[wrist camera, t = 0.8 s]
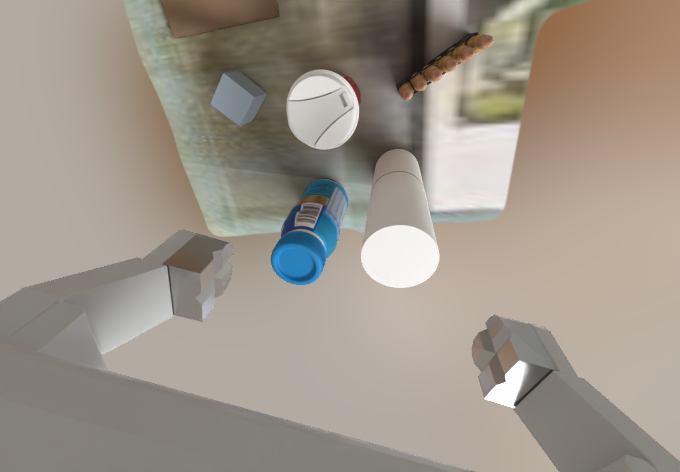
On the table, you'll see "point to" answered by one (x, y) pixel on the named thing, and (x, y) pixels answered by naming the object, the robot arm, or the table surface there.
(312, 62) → the table surface
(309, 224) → the beverage bottle
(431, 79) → the ammunition clip
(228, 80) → the slate cube
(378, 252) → the cylindrical container
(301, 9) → the table surface
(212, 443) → the robot arm
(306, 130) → the coffee cup
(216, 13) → the brown rippled cloth
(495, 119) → the table surface
